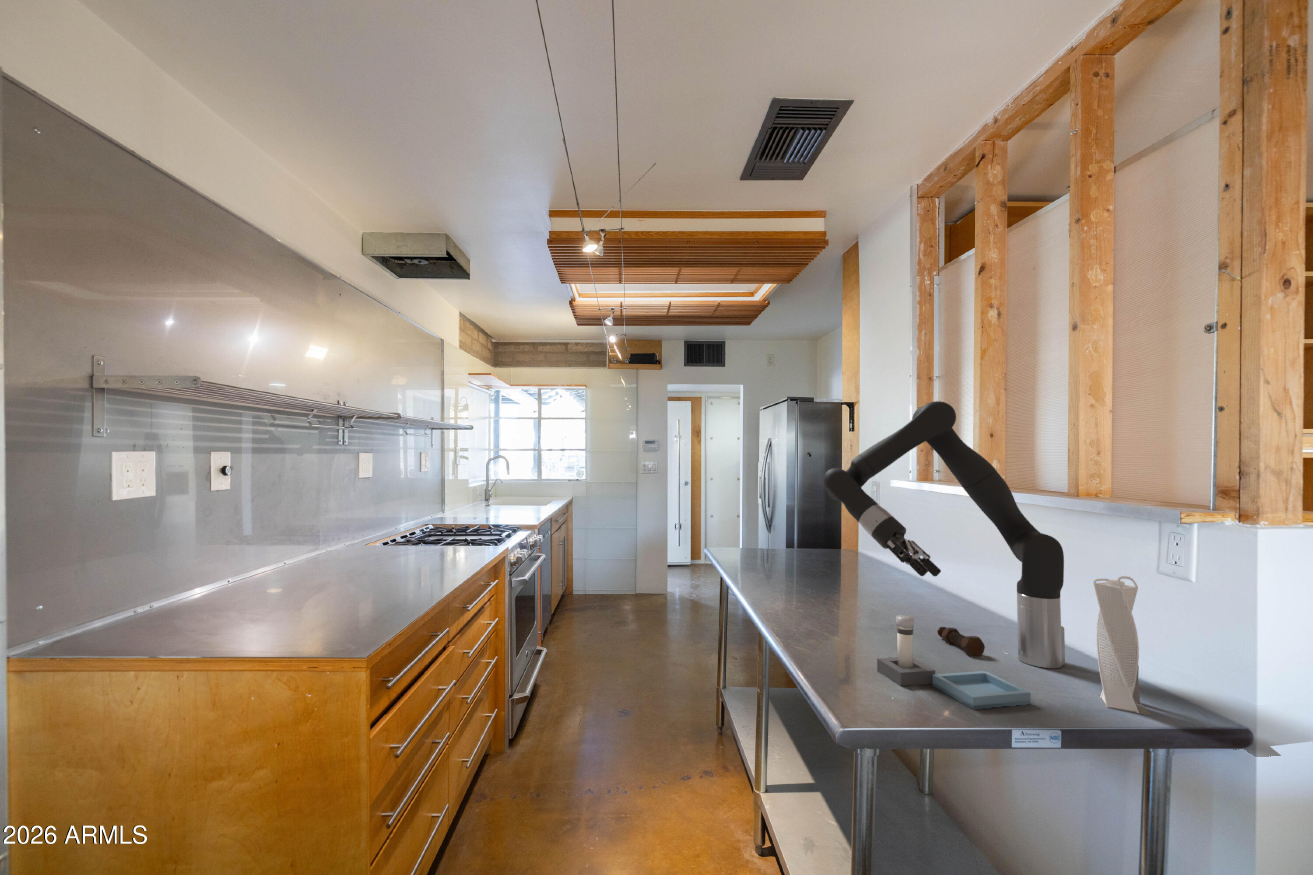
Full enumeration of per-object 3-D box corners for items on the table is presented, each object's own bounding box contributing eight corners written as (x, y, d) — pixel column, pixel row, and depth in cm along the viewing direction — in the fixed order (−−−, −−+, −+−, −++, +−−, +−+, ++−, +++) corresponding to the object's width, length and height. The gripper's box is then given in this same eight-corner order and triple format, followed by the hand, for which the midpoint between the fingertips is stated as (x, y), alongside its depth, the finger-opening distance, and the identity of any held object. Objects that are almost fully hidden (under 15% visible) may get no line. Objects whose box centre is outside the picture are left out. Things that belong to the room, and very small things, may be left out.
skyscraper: (1153, 719, 108) (1149, 579, 109) (1102, 710, 111) (1098, 575, 113) (1138, 703, 115) (1134, 572, 116) (1091, 695, 119) (1088, 568, 120)
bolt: (945, 644, 156) (978, 662, 141) (930, 636, 156) (962, 652, 141) (953, 627, 157) (988, 642, 142) (939, 618, 157) (972, 632, 142)
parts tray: (985, 681, 125) (985, 670, 125) (1030, 704, 113) (1030, 692, 113) (932, 685, 122) (932, 674, 122) (973, 709, 110) (973, 697, 111)
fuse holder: (909, 668, 132) (909, 656, 132) (935, 683, 123) (935, 670, 124) (877, 670, 131) (877, 658, 131) (900, 685, 122) (900, 672, 122)
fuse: (907, 673, 129) (906, 614, 130) (917, 679, 126) (917, 619, 126) (893, 674, 129) (892, 615, 129) (903, 680, 125) (902, 619, 125)
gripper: (879, 513, 132) (932, 562, 122) (902, 517, 142) (953, 563, 132) (860, 534, 135) (909, 584, 124) (883, 537, 145) (931, 584, 134)
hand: (931, 573), depth 128 cm, fingers open, 8 cm apart
